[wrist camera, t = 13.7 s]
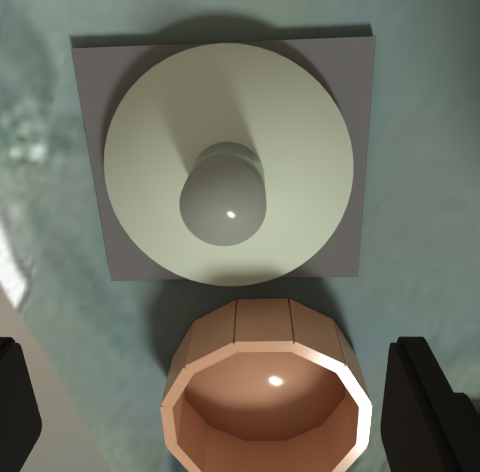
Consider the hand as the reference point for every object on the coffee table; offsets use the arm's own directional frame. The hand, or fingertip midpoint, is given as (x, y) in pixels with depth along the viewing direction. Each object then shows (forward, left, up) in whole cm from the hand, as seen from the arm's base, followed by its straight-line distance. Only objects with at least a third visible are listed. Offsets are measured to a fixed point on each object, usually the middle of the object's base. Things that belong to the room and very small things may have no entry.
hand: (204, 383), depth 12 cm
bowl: (-2, +16, -19) cm, 25 cm away
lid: (0, 0, -19) cm, 19 cm away
